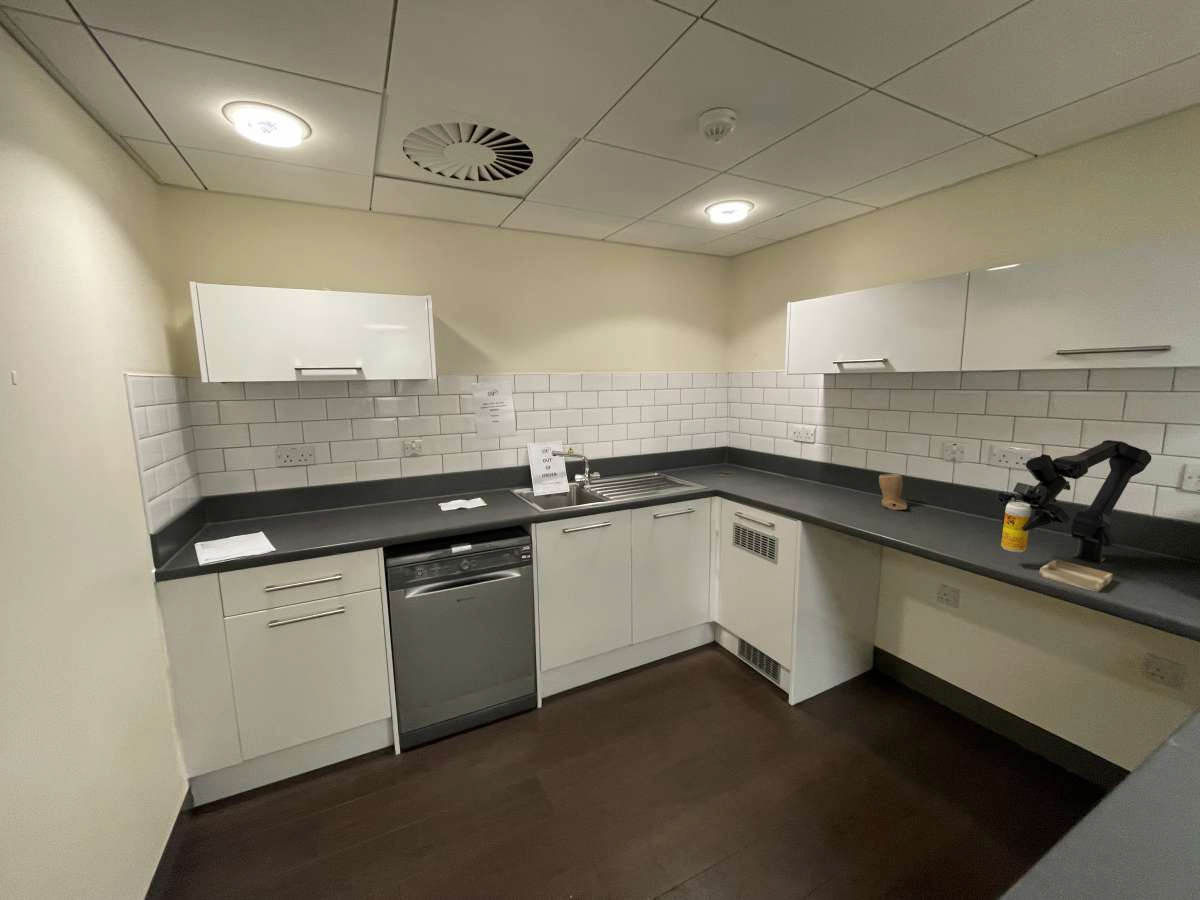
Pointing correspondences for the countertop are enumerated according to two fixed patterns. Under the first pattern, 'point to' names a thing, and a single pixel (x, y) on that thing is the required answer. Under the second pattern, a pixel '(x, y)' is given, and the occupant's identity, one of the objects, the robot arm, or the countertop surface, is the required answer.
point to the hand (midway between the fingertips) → (1013, 526)
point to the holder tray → (1076, 575)
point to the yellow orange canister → (1015, 526)
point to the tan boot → (892, 491)
